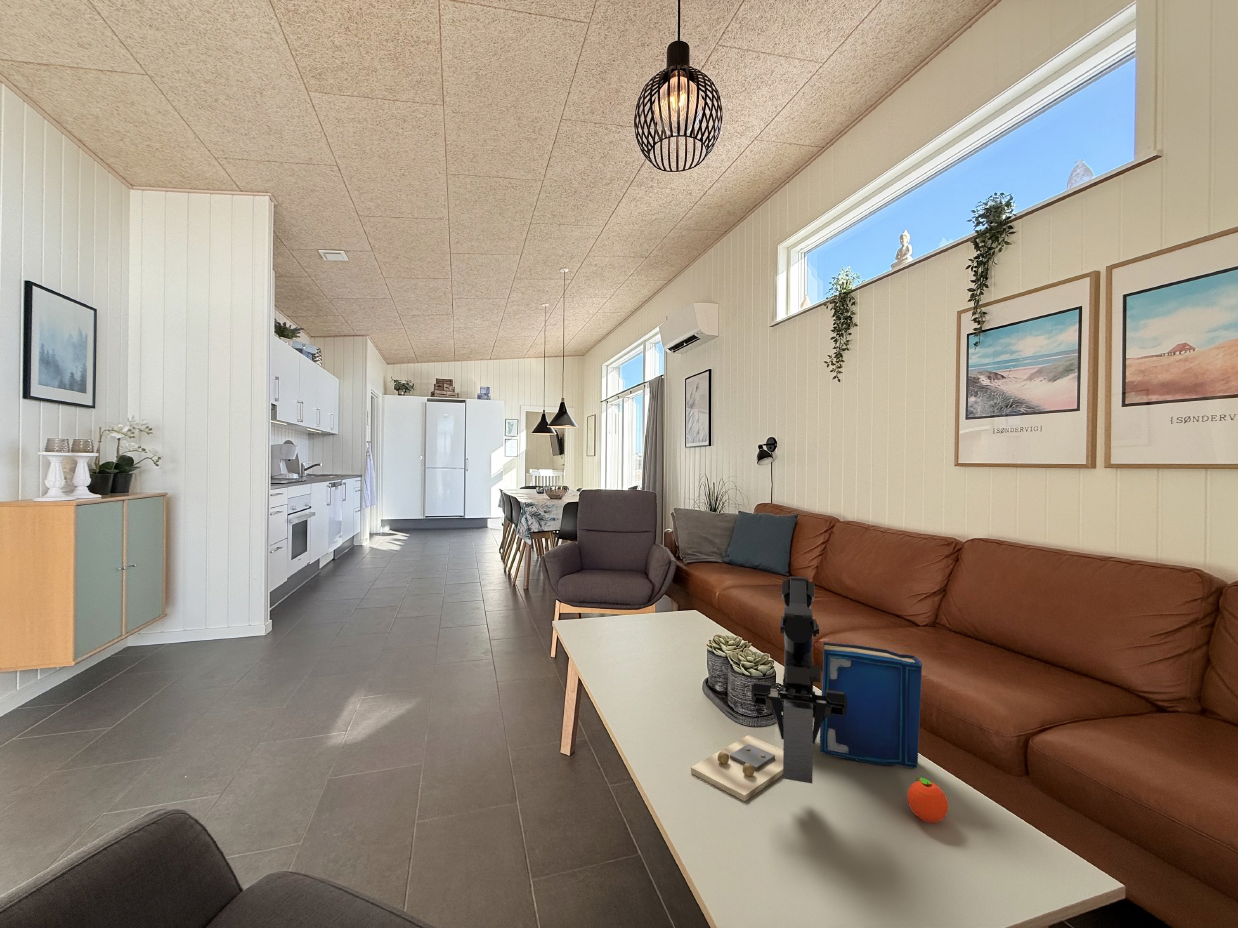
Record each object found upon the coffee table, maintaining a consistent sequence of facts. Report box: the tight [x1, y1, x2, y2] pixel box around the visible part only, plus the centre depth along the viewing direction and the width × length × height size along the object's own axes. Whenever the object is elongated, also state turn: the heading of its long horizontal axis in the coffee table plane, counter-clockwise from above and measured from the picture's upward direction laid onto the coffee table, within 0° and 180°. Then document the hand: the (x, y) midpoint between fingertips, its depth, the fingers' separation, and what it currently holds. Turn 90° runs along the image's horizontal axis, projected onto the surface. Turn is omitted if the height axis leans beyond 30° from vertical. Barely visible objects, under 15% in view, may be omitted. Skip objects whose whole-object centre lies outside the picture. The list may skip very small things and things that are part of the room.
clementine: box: [906, 777, 949, 823], centre depth 108 cm, size 8×7×7 cm
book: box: [819, 642, 923, 769], centre depth 130 cm, size 22×7×25 cm, turn 71°
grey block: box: [782, 700, 814, 785], centre depth 113 cm, size 6×6×14 cm
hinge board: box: [690, 734, 783, 802], centre depth 125 cm, size 22×14×3 cm, turn 133°
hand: (797, 740), depth 110 cm, fingers closed on grey block, 5 cm apart
